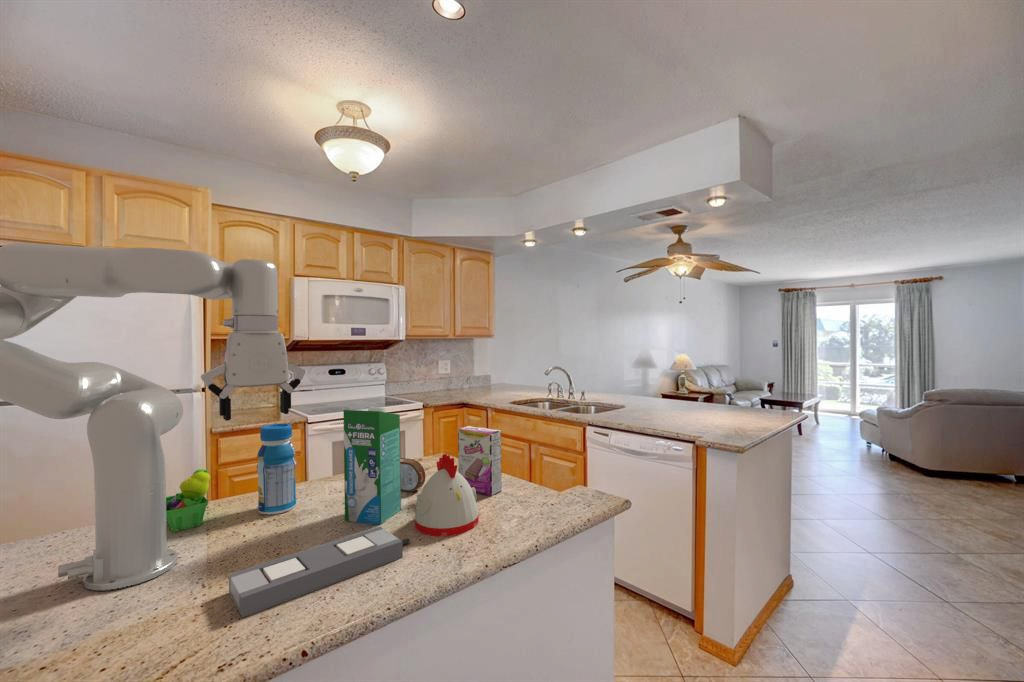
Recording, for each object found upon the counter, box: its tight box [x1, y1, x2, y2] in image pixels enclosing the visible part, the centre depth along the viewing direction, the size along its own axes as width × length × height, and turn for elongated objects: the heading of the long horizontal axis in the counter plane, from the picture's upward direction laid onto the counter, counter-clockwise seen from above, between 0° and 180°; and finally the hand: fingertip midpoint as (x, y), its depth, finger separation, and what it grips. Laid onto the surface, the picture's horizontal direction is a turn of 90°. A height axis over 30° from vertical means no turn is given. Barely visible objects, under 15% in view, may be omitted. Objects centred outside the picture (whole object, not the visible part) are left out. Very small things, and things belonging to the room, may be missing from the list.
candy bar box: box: [457, 425, 502, 497], centre depth 118 cm, size 11×5×16 cm, turn 58°
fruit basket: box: [166, 468, 211, 533], centre depth 100 cm, size 11×9×11 cm
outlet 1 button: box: [263, 558, 305, 583], centre depth 73 cm, size 5×5×2 cm
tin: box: [400, 457, 426, 493], centre depth 120 cm, size 15×3×8 cm, turn 68°
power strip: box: [228, 526, 411, 618], centre depth 78 cm, size 30×9×3 cm, turn 133°
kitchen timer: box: [414, 453, 480, 537], centre depth 98 cm, size 14×14×15 cm
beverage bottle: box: [256, 423, 297, 516], centre depth 107 cm, size 8×8×20 cm
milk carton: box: [342, 406, 402, 526], centre depth 102 cm, size 9×9×25 cm
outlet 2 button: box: [336, 536, 375, 557], centre depth 81 cm, size 5×5×2 cm
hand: (256, 416), depth 84 cm, fingers open, 9 cm apart
